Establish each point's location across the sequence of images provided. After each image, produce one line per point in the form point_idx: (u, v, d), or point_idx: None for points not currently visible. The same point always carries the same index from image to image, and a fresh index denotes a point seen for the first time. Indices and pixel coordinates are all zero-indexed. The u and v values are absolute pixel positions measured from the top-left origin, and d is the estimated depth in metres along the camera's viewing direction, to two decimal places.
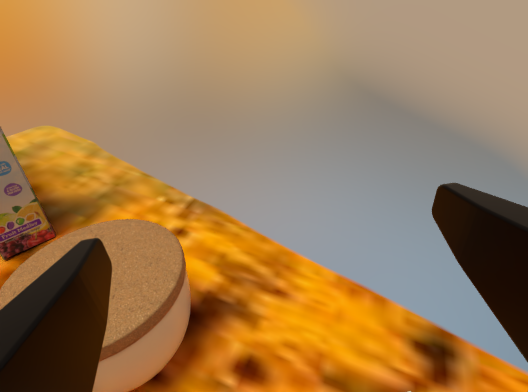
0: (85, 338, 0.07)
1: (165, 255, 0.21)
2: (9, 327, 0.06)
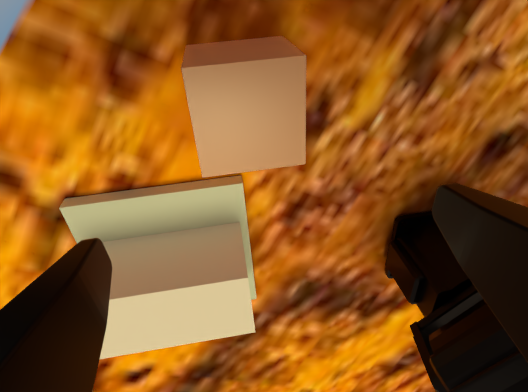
0: (85, 338, 0.07)
1: None
2: (9, 327, 0.06)
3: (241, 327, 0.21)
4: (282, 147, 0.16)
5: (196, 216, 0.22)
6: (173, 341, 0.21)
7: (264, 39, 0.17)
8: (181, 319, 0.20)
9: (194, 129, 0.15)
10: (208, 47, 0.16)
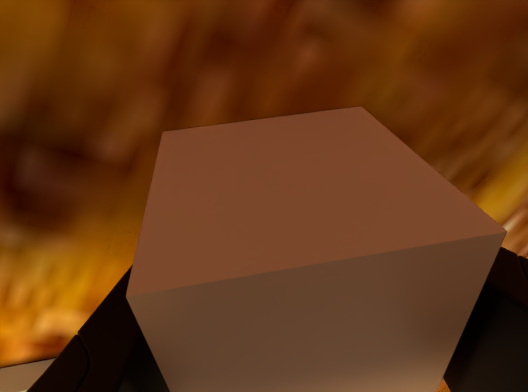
0: None
1: None
2: (128, 306, 0.06)
3: None
4: (388, 391, 0.07)
5: None
6: None
7: (329, 120, 0.08)
8: None
9: None
10: (210, 149, 0.07)
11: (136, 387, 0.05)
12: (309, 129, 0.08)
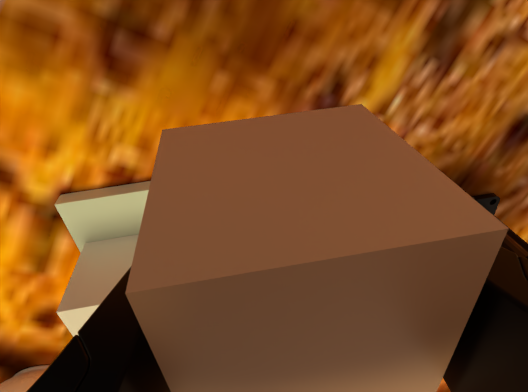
0: None
1: None
2: (128, 306, 0.06)
3: None
4: (388, 390, 0.07)
5: None
6: None
7: (329, 118, 0.08)
8: None
9: None
10: (210, 147, 0.07)
11: (136, 387, 0.05)
12: (309, 127, 0.08)
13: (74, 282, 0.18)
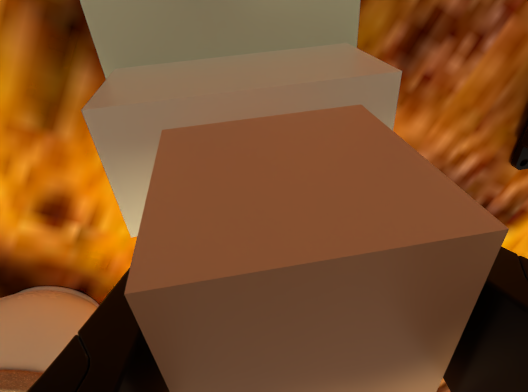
0: None
1: None
2: (128, 306, 0.06)
3: None
4: (388, 391, 0.07)
5: (285, 25, 0.14)
6: None
7: (329, 118, 0.08)
8: None
9: None
10: (209, 147, 0.07)
11: (136, 387, 0.05)
12: (309, 127, 0.08)
13: (105, 90, 0.11)
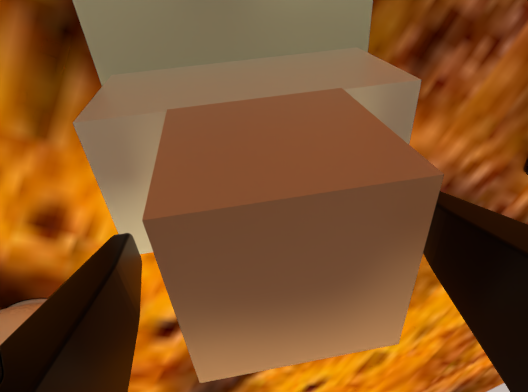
0: (122, 331, 0.07)
1: None
2: (56, 319, 0.06)
3: None
4: (360, 327, 0.08)
5: (292, 28, 0.13)
6: None
7: (312, 99, 0.09)
8: None
9: (180, 320, 0.07)
10: (208, 122, 0.08)
11: None
12: (294, 106, 0.09)
13: (100, 99, 0.11)
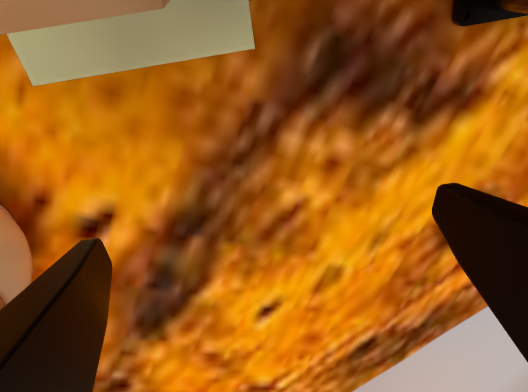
0: (85, 338, 0.07)
1: None
2: (9, 327, 0.06)
3: None
4: None
5: None
6: None
7: None
8: None
9: None
10: None
11: None
12: None
13: None
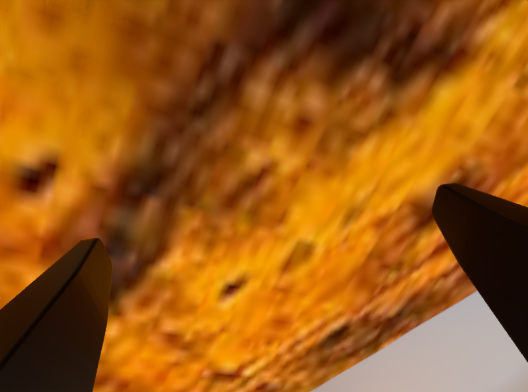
0: (85, 338, 0.07)
1: None
2: (9, 327, 0.06)
3: None
4: None
5: None
6: None
7: None
8: None
9: None
10: None
11: None
12: None
13: None
